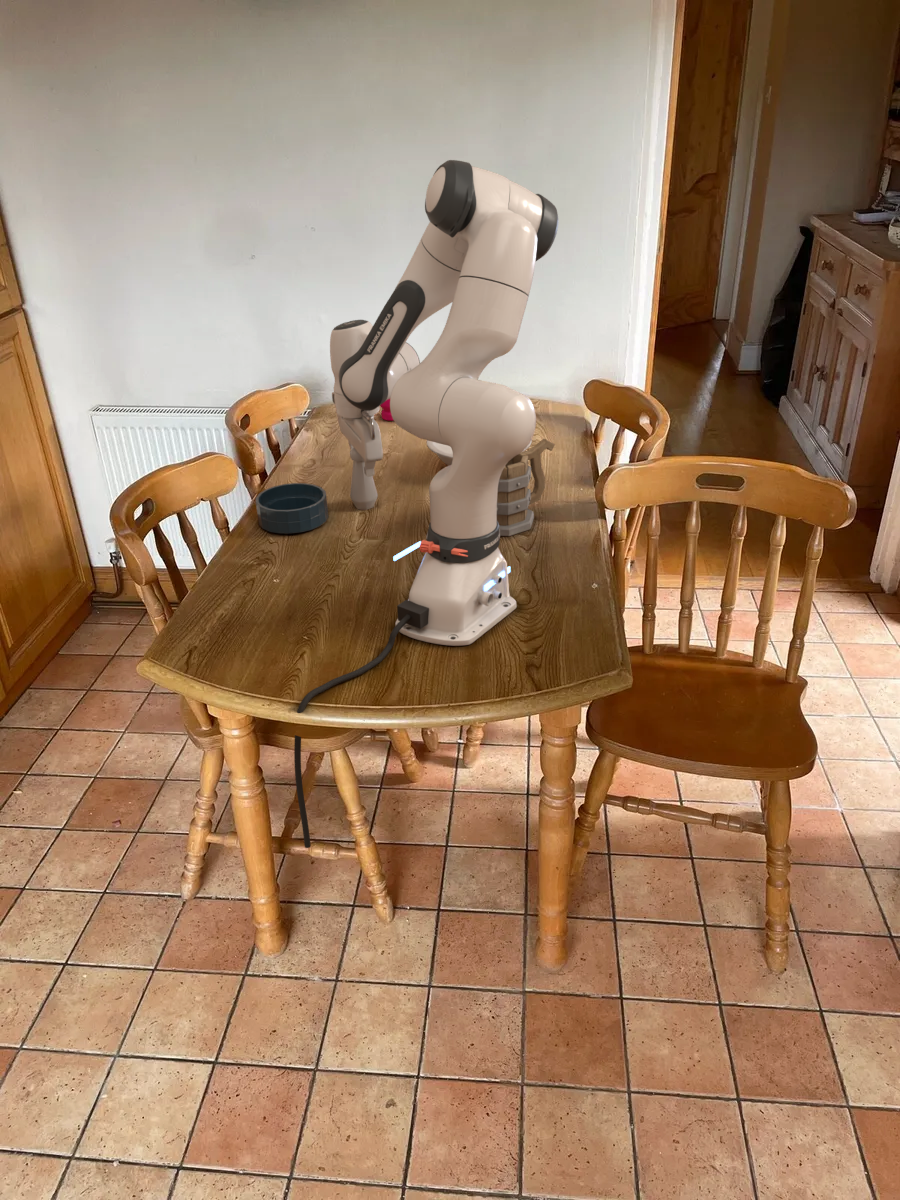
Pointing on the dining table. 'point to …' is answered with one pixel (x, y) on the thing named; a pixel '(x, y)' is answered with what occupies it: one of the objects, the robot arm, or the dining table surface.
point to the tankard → (520, 490)
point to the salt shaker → (361, 484)
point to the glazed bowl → (292, 508)
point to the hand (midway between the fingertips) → (363, 467)
